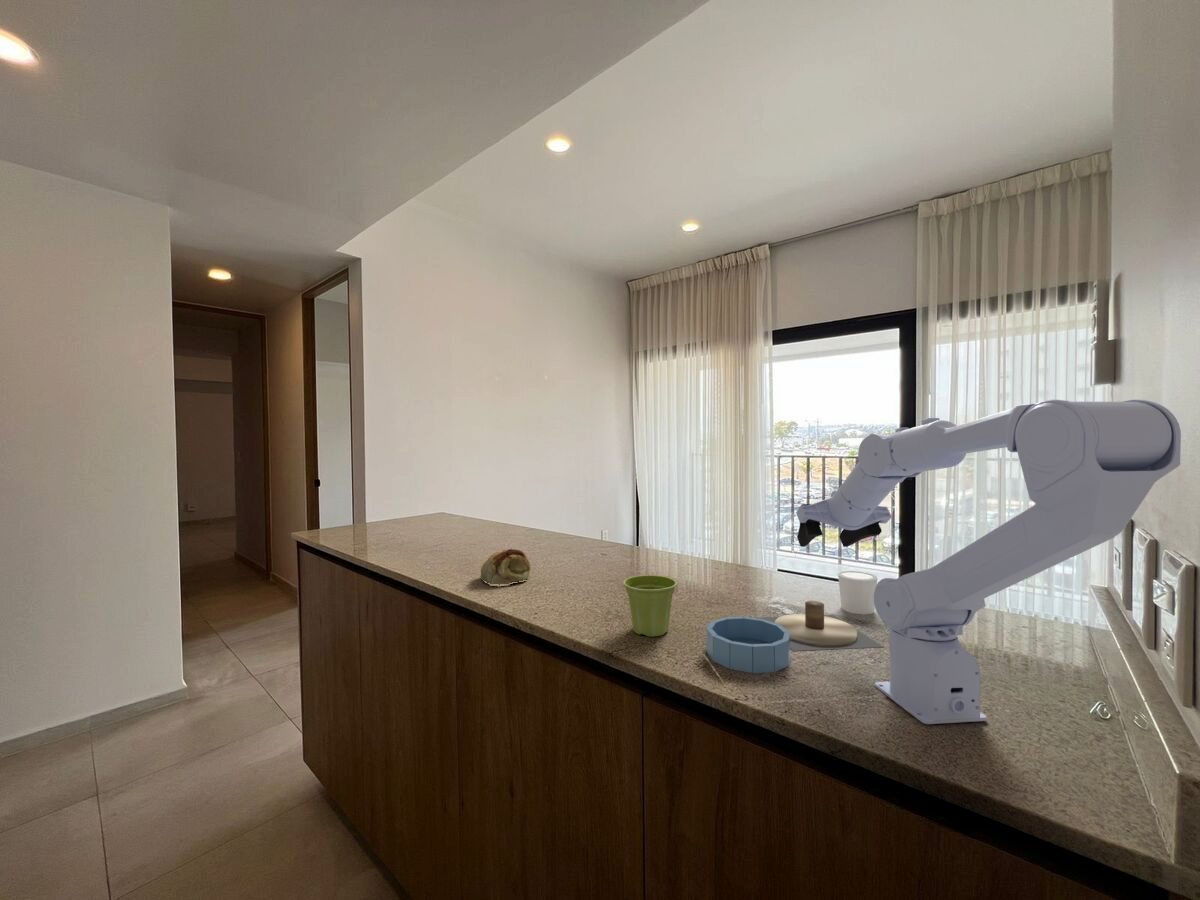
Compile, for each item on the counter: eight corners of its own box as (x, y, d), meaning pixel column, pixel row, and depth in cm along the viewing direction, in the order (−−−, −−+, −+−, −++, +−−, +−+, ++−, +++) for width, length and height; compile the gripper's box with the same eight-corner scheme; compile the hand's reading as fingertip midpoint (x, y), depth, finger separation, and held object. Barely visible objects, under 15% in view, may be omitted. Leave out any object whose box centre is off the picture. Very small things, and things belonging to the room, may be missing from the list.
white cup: (882, 617, 93) (882, 580, 93) (843, 615, 95) (843, 578, 95) (870, 606, 100) (870, 571, 100) (833, 604, 101) (833, 569, 101)
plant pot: (634, 644, 82) (633, 591, 82) (616, 624, 91) (616, 577, 91) (686, 637, 85) (686, 586, 84) (664, 619, 94) (664, 573, 94)
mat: (884, 648, 79) (884, 646, 79) (793, 652, 78) (793, 650, 78) (832, 616, 94) (832, 614, 94) (755, 619, 93) (755, 617, 93)
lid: (874, 644, 80) (874, 614, 80) (796, 648, 79) (796, 617, 79) (830, 616, 93) (830, 591, 93) (762, 619, 92) (762, 593, 92)
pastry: (510, 590, 113) (510, 555, 113) (467, 584, 119) (466, 550, 119) (543, 575, 126) (543, 544, 126) (502, 570, 132) (502, 540, 131)
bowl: (804, 672, 71) (804, 644, 71) (722, 676, 70) (722, 647, 70) (769, 639, 83) (769, 615, 83) (698, 642, 82) (698, 618, 82)
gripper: (893, 474, 79) (853, 522, 89) (805, 473, 77) (774, 521, 87) (913, 512, 74) (869, 557, 84) (820, 511, 73) (786, 557, 83)
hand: (821, 541), depth 86 cm, fingers open, 7 cm apart
